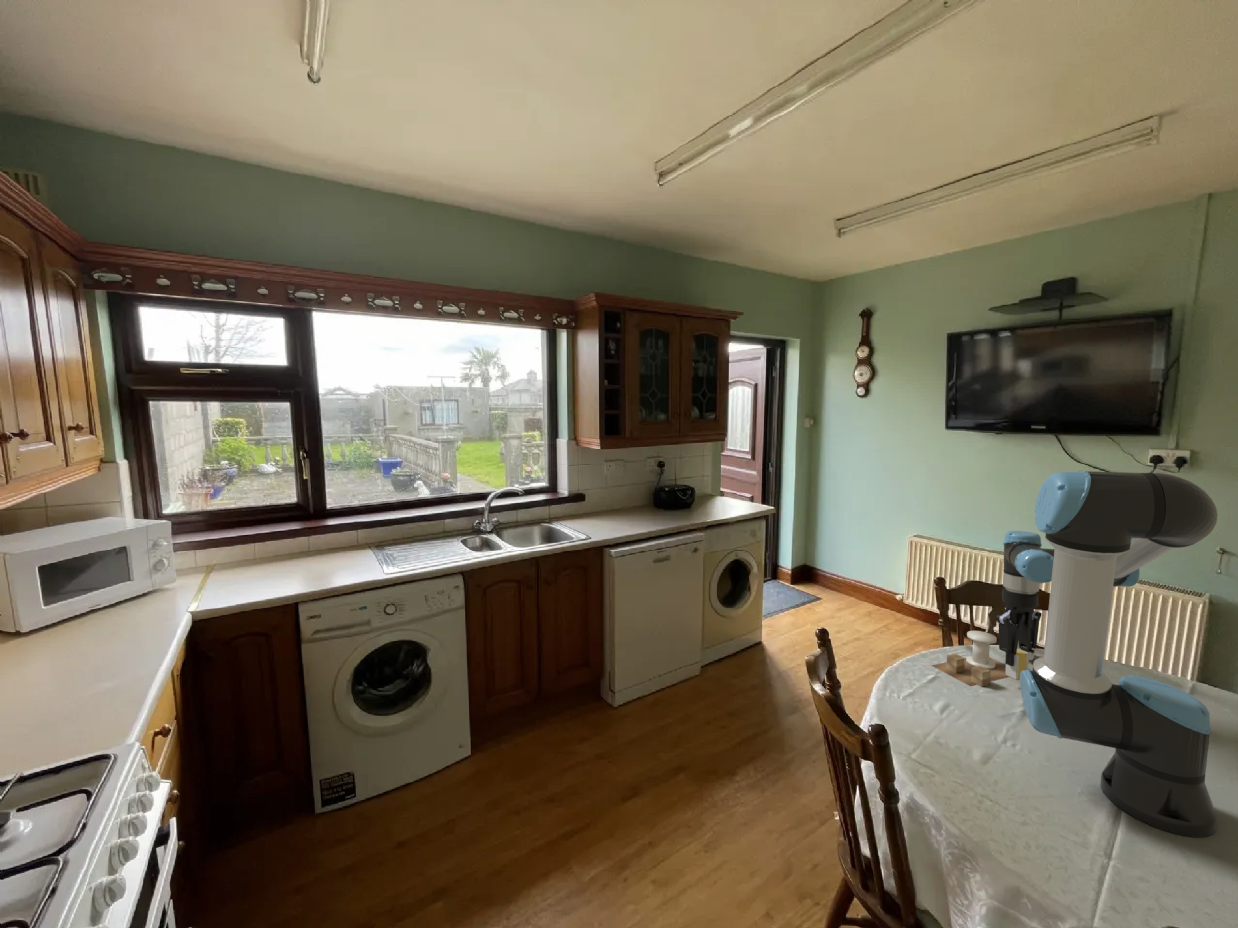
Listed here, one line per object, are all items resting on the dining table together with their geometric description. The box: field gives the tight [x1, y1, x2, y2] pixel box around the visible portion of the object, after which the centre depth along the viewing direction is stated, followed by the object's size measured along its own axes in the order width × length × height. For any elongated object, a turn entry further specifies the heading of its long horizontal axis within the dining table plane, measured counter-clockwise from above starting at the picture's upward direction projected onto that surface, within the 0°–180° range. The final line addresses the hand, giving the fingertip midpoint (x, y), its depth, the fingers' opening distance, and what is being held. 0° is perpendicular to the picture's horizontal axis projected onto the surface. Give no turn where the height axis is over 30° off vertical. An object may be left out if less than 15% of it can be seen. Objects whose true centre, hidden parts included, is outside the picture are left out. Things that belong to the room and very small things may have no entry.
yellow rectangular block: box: [1007, 649, 1027, 681], centre depth 135 cm, size 3×3×7 cm
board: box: [931, 653, 1010, 688], centre depth 145 cm, size 13×20×5 cm, turn 107°
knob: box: [965, 630, 997, 670], centre depth 148 cm, size 7×7×9 cm
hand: (1016, 675), depth 135 cm, fingers closed on yellow rectangular block, 3 cm apart
